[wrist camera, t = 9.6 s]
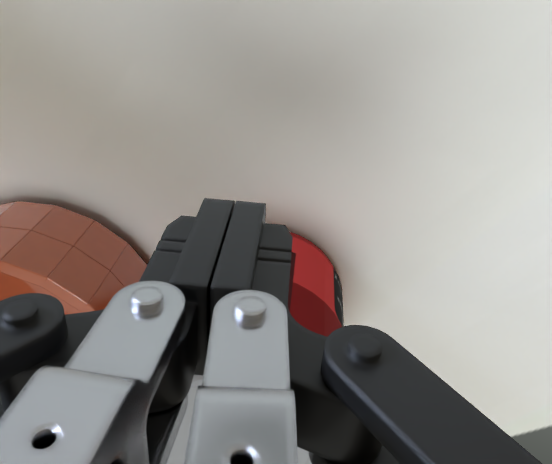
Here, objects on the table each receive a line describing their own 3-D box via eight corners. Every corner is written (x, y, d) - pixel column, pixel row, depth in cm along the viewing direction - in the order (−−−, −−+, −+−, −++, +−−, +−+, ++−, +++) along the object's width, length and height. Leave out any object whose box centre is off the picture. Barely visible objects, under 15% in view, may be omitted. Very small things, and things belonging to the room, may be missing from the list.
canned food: (296, 354, 31) (282, 533, 22) (182, 294, 30) (114, 459, 20) (371, 270, 28) (394, 441, 18) (246, 197, 26) (201, 343, 17)
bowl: (-22, 364, 34) (-84, 439, 29) (-77, 185, 28) (-170, 241, 22) (172, 387, 34) (144, 467, 29) (164, 210, 27) (126, 274, 22)
